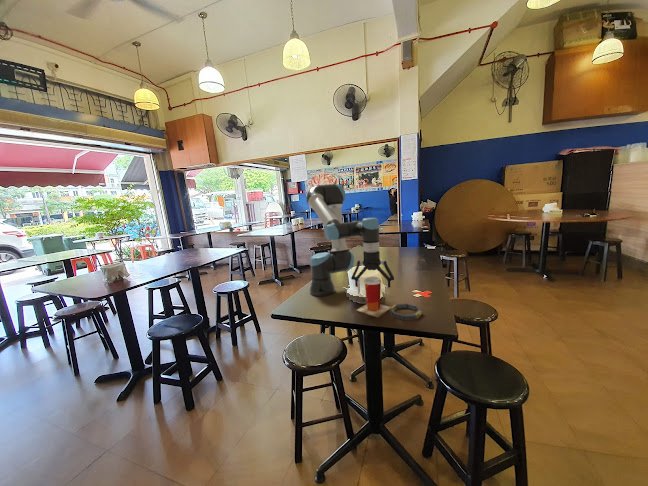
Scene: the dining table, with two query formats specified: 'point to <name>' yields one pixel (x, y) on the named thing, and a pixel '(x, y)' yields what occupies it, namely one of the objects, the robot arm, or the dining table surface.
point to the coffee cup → (373, 292)
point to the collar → (405, 317)
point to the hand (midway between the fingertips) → (372, 293)
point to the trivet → (374, 313)
